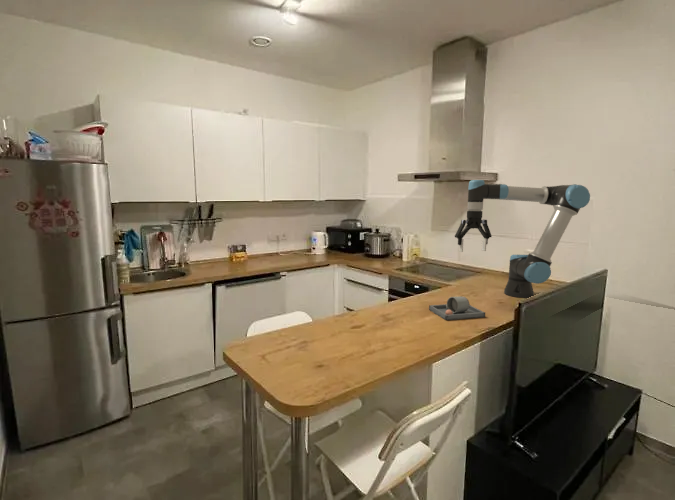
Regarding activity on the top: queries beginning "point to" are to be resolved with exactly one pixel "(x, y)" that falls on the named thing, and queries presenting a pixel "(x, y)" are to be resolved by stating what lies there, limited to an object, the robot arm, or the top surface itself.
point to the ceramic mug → (457, 304)
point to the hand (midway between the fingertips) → (472, 251)
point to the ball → (448, 312)
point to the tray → (468, 314)
